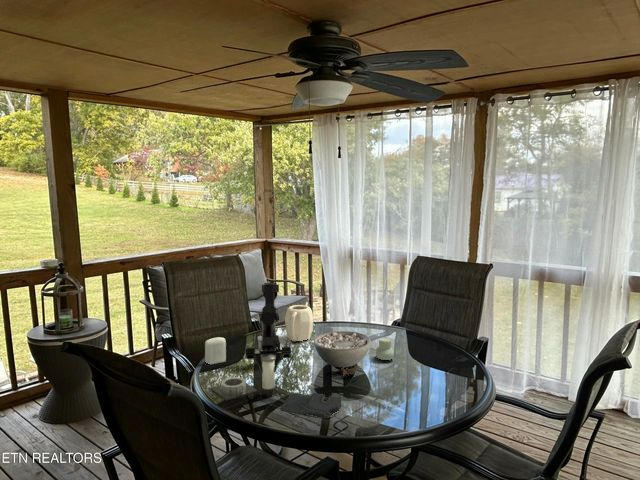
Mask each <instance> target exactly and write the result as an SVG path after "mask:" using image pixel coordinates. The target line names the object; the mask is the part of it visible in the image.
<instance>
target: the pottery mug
mask: <svg viewBox="0 0 640 480" xmlns="http://www.w3.org/2000/svg"><path fill="white" fill-rule="evenodd" d="M344 368H345V367H343V368H341V370H340V371H341V372H342V374H348V376H350V375H349V374H351V375H353V374H355V373H356V372H357V369H358V366H357V363H356V364H355V365H354V367H351V369H344Z"/></svg>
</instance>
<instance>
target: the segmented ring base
mask: <svg viewBox="0 0 640 480" xmlns="http://www.w3.org/2000/svg"><path fill="white" fill-rule="evenodd" d="M246 382H247V380H246V379H245V378H243V377H238V376H236V377H233V376H232V377H229V378H225V379H223V380H222V381H221V384H220V385H216V386H212V387H210V390H211V391H212V392H213V391H214V392H213V393H214V394H216V395H218V396H219V397H220V396H221V397H220V398H222V399H223V400H224V399H225V402H228V400H229V401H232V400H234V399H238V398H241V397H245V396H247V395H250V394H254V393H257V392H258V390H257V389H256V388H254V387H253V386H251V385H249V384H248V383H246Z"/></svg>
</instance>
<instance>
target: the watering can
mask: <svg viewBox="0 0 640 480" xmlns="http://www.w3.org/2000/svg"><path fill="white" fill-rule="evenodd" d="M308 304H309V302H308V301H306V302H305V304H297V305H296V304H294V305H291V306H289V307H287V310H286V312H285V318H284V324H285V331H286V335H287V338H288V339H289V340H290V341H291V340H292V341H291V342H296V341H302V342H304V341H303V340H307V339H308V340H310V339H311V336H312V333H313V327H314V314H313V313H314V312H313V310H312V308H311V307H310V306H309V305H308ZM308 340H307V341H308Z"/></svg>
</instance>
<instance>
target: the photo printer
mask: <svg viewBox="0 0 640 480" xmlns="http://www.w3.org/2000/svg"><path fill="white" fill-rule="evenodd" d="M226 347H227V342H226V338H224V337H220V336H218V337H213V338H210V339H207V340H205V342H204V363H205V362H206V363H208V364H210V365H215V364H221V363H224V362H227V354H226V353H227V349H226Z"/></svg>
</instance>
